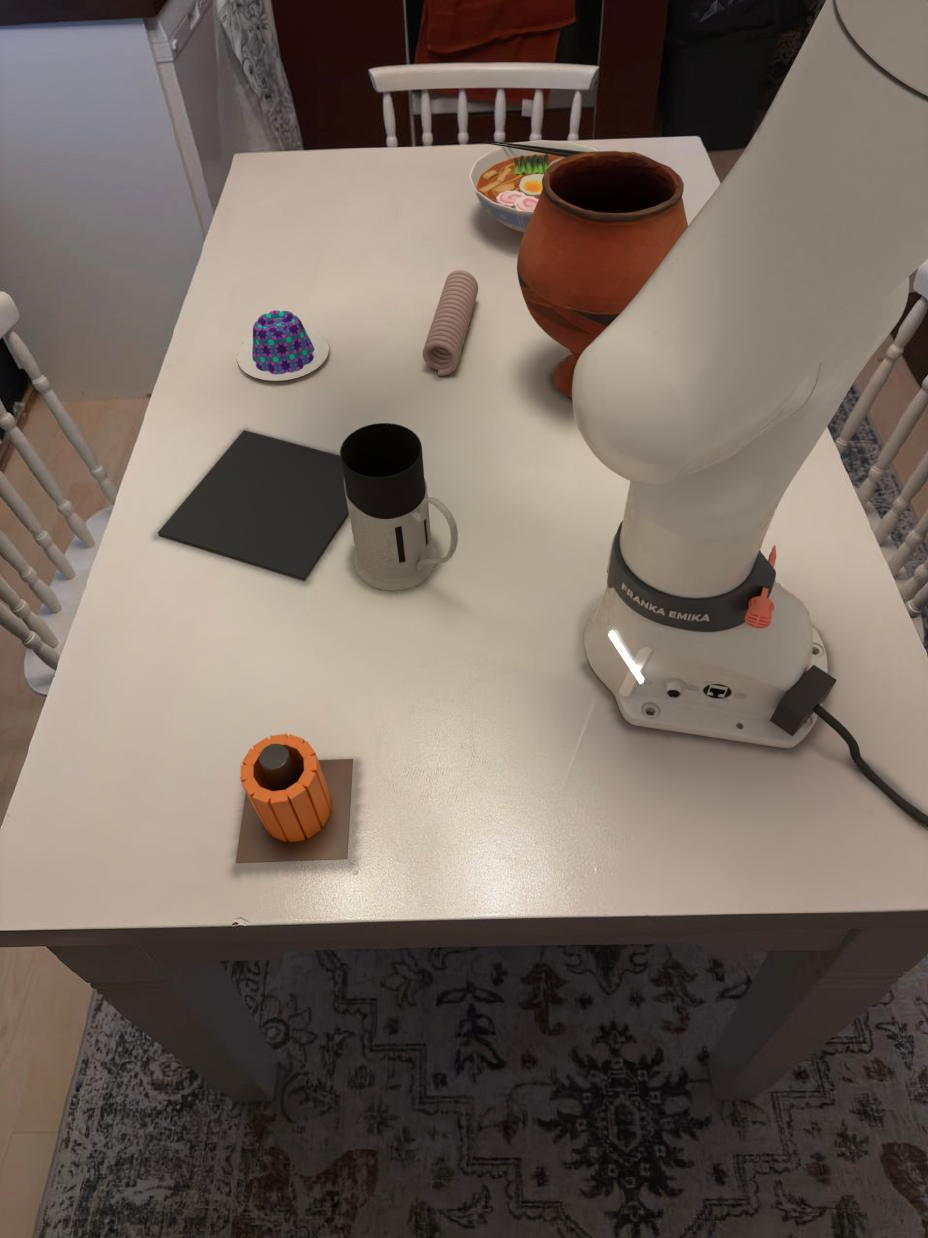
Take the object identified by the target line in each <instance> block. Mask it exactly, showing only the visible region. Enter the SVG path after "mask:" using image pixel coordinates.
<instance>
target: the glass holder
mask: <svg viewBox="0 0 928 1238" xmlns="http://www.w3.org/2000/svg"><path fill="white" fill-rule="evenodd" d="M423 455H424V454H423V446H422V442H421V440H420V438H419V436H418V435H417V434H416V433H415V432H414V431H413V430H412V429H410V428H408V427H407V426H403V425H401V424H397V423H391V422H380V423H379V422H377V423H372V424H368V425H365V426H361V427H359V428H358V429H356V430H354V431H352V432H351V433H349V434H348V436H347V437H346V438H345V439H344V440H343V441H342V444H341V446H340V449H339V456H340V458H341V463H342V469H343V474H344V488H345V495H346V501H347V506H348V511H349V515H348V517H349V522H350V525H351V527H350V528H351V532H352V538H353V543H354V548H355V552H354V555H353V556H354V557H353V567H354V571H355V573H356V574H357V576H358V577H359V578H360V579H361V581H362V582H364V583H365V584H366V585H368V586H370V587H372V588H374V589H377V590H382V591H388V592H396V591H405V590H408V589H411V588H414V587H415V586H416V587H417V586H418V585H420V584H421V583H423V582H424V581H425V580H427V579H428V578H429V577H430V575H432V573H433V571H434V570H435V568H436V565H439V564H444V563H446V562H448V561H449V560H450V559H451V558H452V557H453V556H454V554H455V552H456V550H457V547H458V543H459V541H458V540H459V531H458V525H457V521H456V520H455V517H454V515H453V514H452V512H451V510H450V509H449V507H448V506H447V505H446V504H445V503H444V502H443V501H442V500H440V499H439V498H437V497H435V496H429V493H428V485H427V480H426V478H425V468H424V466H425V465H424V458H423V457H424V456H423ZM429 504H431V505H432V506H434V507H435V508H437V510H439V511H440V513H441V514H442V515H443V516H444V519H445V520H446V522H447V525H448V528H449V532H450V545H449V549H448V552H447V553H446V555H445V556H444V557H438V554H437V550H436V548H435V547H436V546H435V544H434V543H433V542H432V533H431V519H430V508H429V507H430V506H429Z"/></svg>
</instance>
